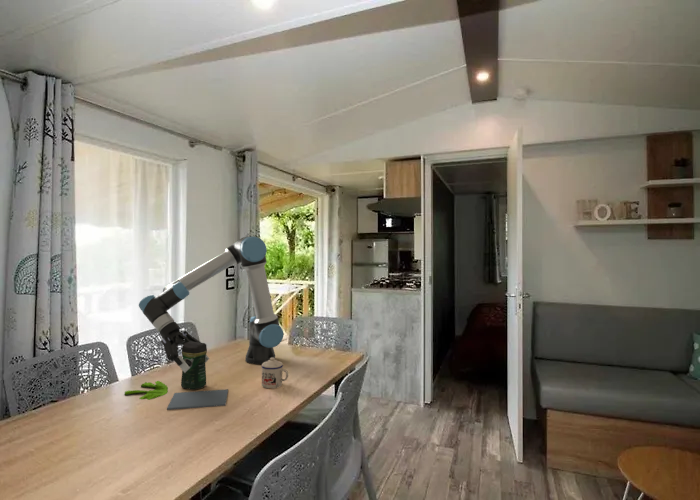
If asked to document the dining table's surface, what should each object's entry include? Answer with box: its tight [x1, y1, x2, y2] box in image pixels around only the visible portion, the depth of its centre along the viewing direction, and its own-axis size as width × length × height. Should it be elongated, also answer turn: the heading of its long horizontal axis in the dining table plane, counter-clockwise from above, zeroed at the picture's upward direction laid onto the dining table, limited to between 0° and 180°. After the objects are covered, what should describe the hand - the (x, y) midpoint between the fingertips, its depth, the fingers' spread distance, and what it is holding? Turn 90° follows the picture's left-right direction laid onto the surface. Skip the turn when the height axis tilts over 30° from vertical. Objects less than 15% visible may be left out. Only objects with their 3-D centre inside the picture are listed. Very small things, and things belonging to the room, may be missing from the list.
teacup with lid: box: [260, 357, 289, 389], centre depth 164 cm, size 12×9×12 cm
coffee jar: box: [180, 341, 208, 390], centre depth 161 cm, size 10×8×19 cm
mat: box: [166, 389, 229, 411], centre depth 147 cm, size 20×15×1 cm
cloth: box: [124, 380, 169, 401], centre depth 156 cm, size 20×22×2 cm
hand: (197, 365), depth 160 cm, fingers open, 13 cm apart
